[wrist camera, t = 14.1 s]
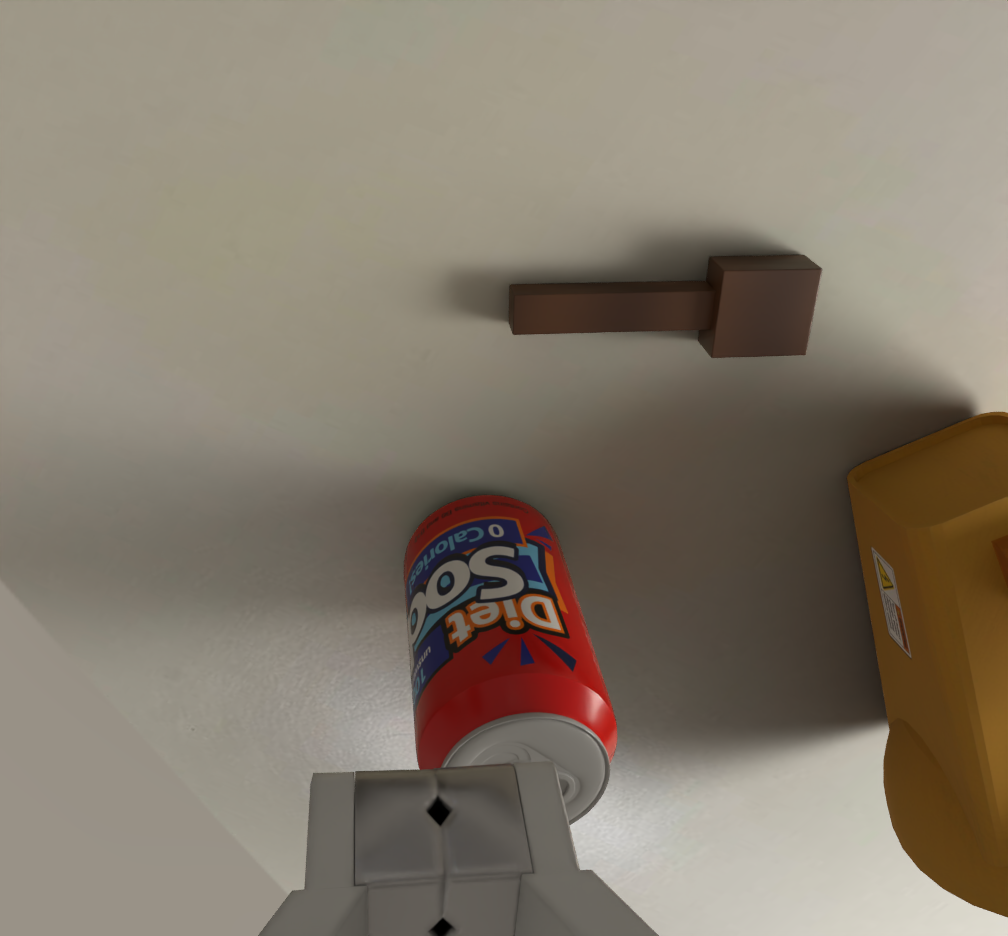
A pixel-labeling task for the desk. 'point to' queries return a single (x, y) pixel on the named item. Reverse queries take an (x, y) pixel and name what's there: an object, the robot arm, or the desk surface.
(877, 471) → the flared yellow plastic housing
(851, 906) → the desk surface
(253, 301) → the desk surface
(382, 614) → the desk surface
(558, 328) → the wooden mallet
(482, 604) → the soda can
